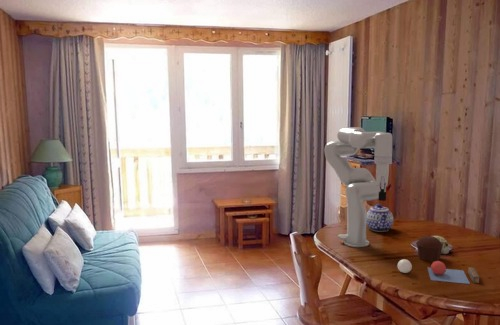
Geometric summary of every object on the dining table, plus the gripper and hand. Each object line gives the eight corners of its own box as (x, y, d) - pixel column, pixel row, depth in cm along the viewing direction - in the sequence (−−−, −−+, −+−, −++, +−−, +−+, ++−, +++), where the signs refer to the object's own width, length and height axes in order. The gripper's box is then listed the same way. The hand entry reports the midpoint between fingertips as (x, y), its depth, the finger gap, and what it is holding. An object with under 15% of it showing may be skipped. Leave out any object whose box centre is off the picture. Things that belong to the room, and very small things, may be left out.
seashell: (454, 253, 195) (445, 234, 194) (434, 261, 197) (425, 243, 196) (447, 245, 204) (438, 227, 204) (428, 253, 206) (419, 235, 206)
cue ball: (407, 262, 169) (413, 273, 170) (408, 255, 174) (414, 266, 175) (394, 265, 172) (400, 277, 173) (395, 258, 177) (401, 269, 178)
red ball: (443, 261, 167) (449, 274, 167) (440, 257, 173) (447, 269, 173) (429, 266, 169) (436, 279, 169) (427, 262, 174) (433, 274, 174)
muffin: (441, 264, 182) (441, 242, 181) (414, 260, 188) (414, 238, 187) (443, 256, 193) (444, 235, 192) (417, 252, 198) (418, 232, 197)
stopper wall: (473, 282, 163) (473, 276, 162) (468, 273, 172) (468, 267, 172) (478, 283, 162) (479, 276, 162) (473, 273, 171) (473, 267, 171)
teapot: (362, 223, 251) (362, 199, 249) (388, 223, 249) (389, 199, 247) (368, 235, 226) (369, 208, 224) (398, 236, 224) (398, 209, 222)
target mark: (430, 280, 165) (430, 279, 165) (427, 267, 179) (427, 267, 179) (469, 284, 161) (470, 283, 161) (463, 270, 174) (463, 270, 174)
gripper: (374, 158, 195) (373, 196, 197) (374, 162, 181) (373, 203, 183) (391, 158, 192) (390, 197, 195) (392, 162, 178) (391, 204, 180)
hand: (382, 200), depth 189 cm, fingers closed
